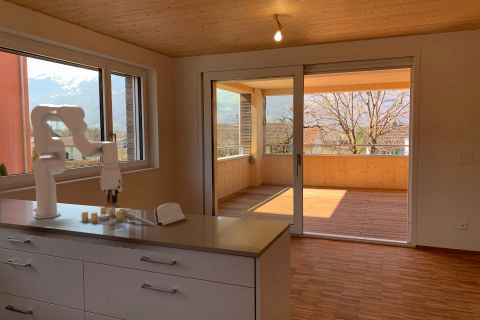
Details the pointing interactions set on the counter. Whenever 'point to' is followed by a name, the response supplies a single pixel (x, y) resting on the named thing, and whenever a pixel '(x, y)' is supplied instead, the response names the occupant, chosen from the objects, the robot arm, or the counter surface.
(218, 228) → the counter surface
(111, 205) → the brown inverted t block
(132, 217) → the caliper
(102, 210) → the spacer jig
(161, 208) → the beige flat slab
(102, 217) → the nut
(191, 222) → the counter surface
